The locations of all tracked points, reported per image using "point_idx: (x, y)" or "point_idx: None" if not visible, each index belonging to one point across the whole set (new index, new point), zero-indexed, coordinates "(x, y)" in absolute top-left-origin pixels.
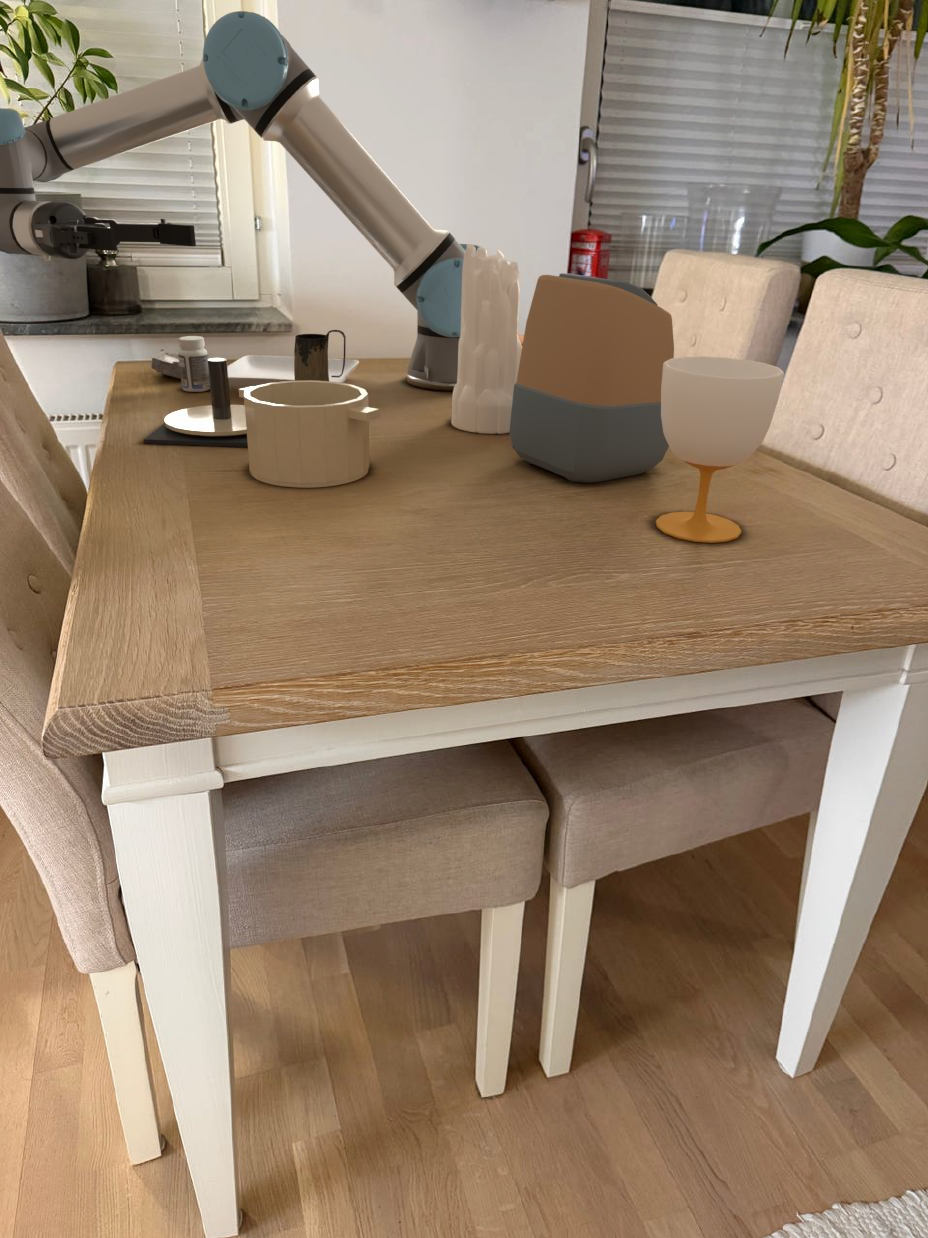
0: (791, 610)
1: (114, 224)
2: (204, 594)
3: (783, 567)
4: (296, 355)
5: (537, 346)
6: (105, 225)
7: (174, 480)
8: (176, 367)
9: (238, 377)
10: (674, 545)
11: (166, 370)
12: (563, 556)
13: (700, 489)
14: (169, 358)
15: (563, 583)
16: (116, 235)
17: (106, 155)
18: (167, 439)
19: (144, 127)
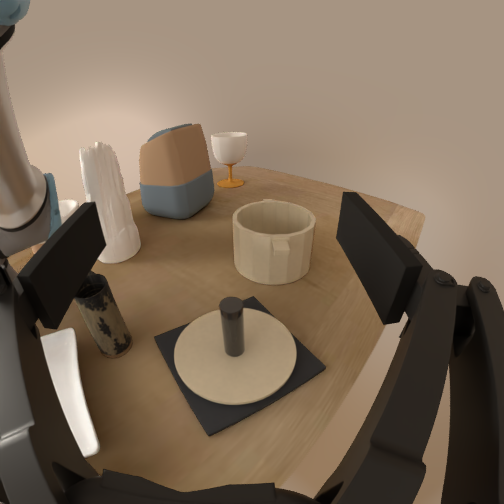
0: (271, 171)
1: (44, 438)
2: (386, 221)
3: (246, 174)
4: (109, 308)
5: (190, 159)
6: (70, 490)
7: (351, 290)
8: None
9: (90, 419)
10: (249, 183)
11: None
12: (280, 191)
13: (231, 171)
14: None
15: (297, 188)
16: (74, 458)
17: None
18: (309, 352)
19: None
